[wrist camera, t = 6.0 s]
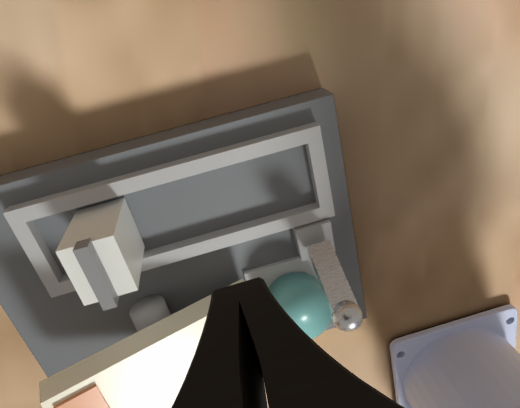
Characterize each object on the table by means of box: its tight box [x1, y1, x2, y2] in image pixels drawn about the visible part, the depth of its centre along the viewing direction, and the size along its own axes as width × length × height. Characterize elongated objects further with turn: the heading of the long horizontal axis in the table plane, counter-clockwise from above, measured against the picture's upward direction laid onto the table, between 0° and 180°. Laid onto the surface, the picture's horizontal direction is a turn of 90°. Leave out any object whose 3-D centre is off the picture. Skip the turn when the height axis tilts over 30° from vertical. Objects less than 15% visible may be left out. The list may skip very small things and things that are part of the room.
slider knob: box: [55, 198, 145, 311], centre depth 16 cm, size 3×2×4 cm
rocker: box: [39, 279, 244, 408], centre depth 18 cm, size 4×9×1 cm, turn 103°
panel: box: [0, 88, 367, 377], centre depth 19 cm, size 12×16×3 cm
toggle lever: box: [308, 240, 363, 332], centre depth 17 cm, size 1×1×4 cm
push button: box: [269, 272, 331, 339], centre depth 20 cm, size 3×3×2 cm
